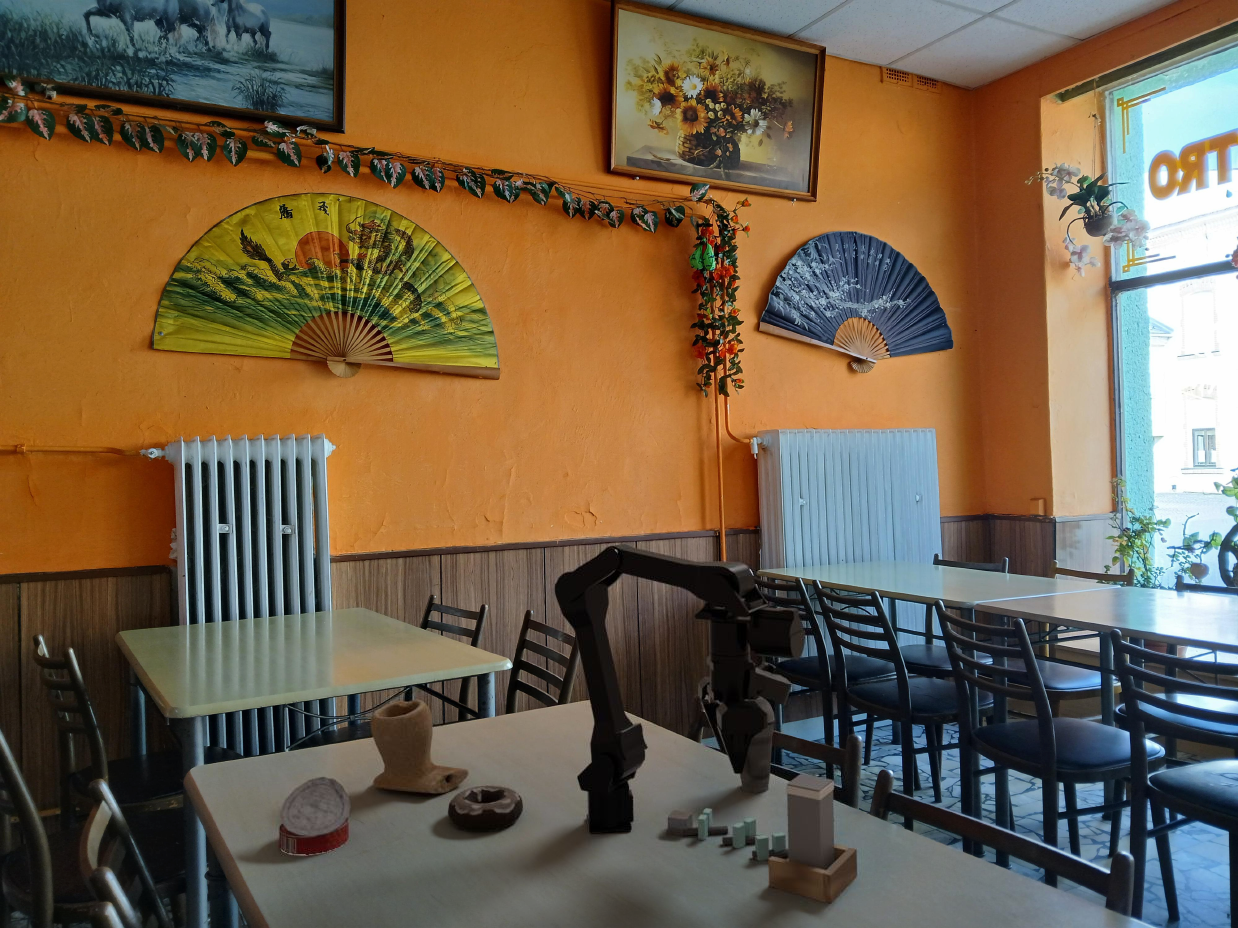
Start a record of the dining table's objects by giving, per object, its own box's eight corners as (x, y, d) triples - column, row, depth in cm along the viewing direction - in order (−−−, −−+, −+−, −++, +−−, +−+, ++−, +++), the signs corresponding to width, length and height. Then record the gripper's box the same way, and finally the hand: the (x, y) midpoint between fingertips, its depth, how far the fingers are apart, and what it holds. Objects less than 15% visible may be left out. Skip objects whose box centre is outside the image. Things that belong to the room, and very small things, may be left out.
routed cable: (694, 863, 123) (694, 856, 123) (682, 833, 133) (682, 826, 133) (789, 857, 124) (789, 850, 124) (770, 828, 134) (770, 821, 134)
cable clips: (770, 864, 122) (770, 842, 122) (689, 835, 132) (689, 815, 132) (793, 851, 126) (792, 830, 126) (712, 824, 136) (712, 804, 136)
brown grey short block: (667, 832, 133) (667, 816, 133) (673, 825, 136) (673, 809, 136) (687, 835, 132) (686, 819, 132) (692, 827, 135) (692, 811, 135)
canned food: (349, 863, 136) (377, 806, 135) (304, 885, 126) (335, 825, 126) (297, 819, 140) (324, 764, 139) (250, 838, 130) (279, 779, 130)
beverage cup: (776, 796, 147) (773, 675, 147) (731, 794, 148) (729, 674, 149) (777, 780, 154) (775, 665, 154) (735, 778, 156) (732, 664, 156)
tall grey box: (787, 882, 117) (786, 783, 117) (802, 869, 121) (800, 773, 121) (821, 891, 114) (819, 790, 114) (835, 877, 118) (833, 779, 118)
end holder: (769, 885, 116) (768, 858, 116) (797, 859, 123) (797, 834, 123) (831, 903, 111) (830, 875, 111) (857, 875, 118) (856, 849, 118)
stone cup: (356, 795, 151) (354, 707, 151) (400, 772, 162) (398, 690, 162) (430, 807, 145) (429, 715, 145) (470, 783, 156) (469, 697, 156)
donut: (536, 812, 143) (536, 787, 143) (496, 840, 132) (496, 813, 132) (476, 801, 148) (475, 777, 148) (432, 828, 137) (432, 802, 137)
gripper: (804, 665, 118) (806, 783, 118) (768, 637, 136) (770, 739, 136) (721, 667, 117) (723, 786, 117) (696, 639, 135) (698, 742, 135)
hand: (731, 762), depth 126 cm, fingers open, 9 cm apart
